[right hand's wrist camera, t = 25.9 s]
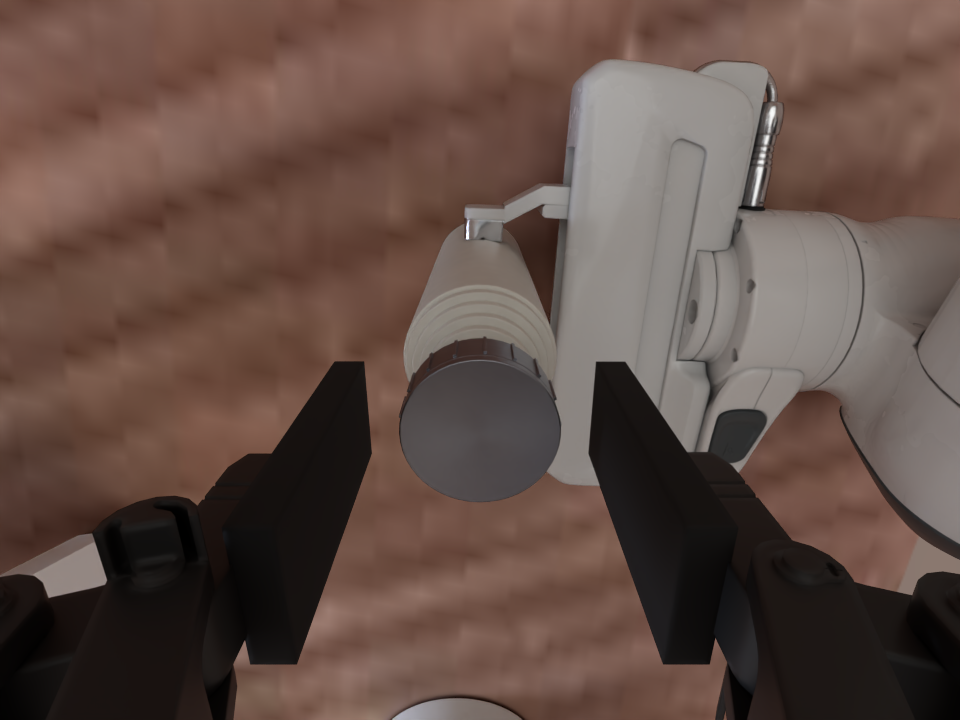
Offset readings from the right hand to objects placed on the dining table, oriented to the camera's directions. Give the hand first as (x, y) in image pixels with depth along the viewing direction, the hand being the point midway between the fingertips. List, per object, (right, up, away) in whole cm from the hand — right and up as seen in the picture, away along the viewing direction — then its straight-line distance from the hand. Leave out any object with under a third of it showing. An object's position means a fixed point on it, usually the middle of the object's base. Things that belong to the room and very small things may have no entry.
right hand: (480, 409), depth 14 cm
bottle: (0, +7, +18) cm, 20 cm away
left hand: (-1, +5, +12) cm, 13 cm away
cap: (0, 0, -1) cm, 1 cm away
